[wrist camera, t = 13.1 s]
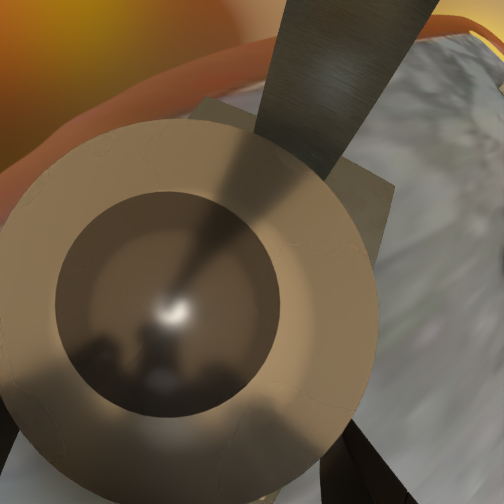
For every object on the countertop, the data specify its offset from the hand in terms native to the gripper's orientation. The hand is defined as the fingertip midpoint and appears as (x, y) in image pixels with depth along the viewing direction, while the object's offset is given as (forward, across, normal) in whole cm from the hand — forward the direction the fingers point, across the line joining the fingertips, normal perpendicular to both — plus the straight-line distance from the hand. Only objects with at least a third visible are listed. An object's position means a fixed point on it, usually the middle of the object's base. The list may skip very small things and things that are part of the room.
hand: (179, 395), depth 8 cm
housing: (+7, 0, +4) cm, 8 cm away
